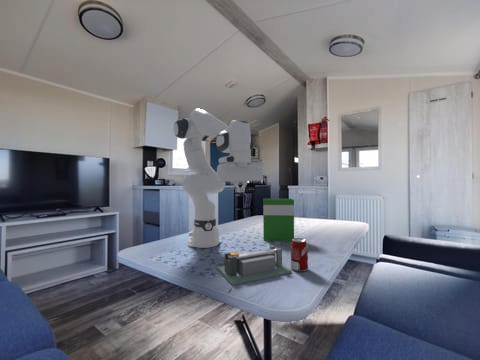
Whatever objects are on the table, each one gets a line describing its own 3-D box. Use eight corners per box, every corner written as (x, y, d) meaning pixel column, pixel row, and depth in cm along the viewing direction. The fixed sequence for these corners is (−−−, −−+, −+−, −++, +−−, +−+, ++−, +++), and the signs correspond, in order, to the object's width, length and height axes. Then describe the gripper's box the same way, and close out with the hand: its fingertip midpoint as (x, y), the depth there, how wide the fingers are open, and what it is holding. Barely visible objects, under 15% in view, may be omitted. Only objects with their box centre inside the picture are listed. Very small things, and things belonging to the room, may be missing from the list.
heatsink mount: (217, 269, 98) (217, 249, 97) (269, 259, 108) (269, 242, 108) (232, 285, 83) (232, 262, 83) (291, 272, 94) (291, 252, 94)
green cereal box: (263, 240, 141) (263, 199, 140) (263, 237, 148) (263, 198, 148) (294, 241, 139) (294, 199, 138) (292, 238, 146) (292, 198, 146)
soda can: (297, 273, 93) (297, 242, 92) (287, 267, 99) (287, 238, 99) (311, 270, 95) (311, 240, 95) (300, 265, 102) (300, 236, 101)
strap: (227, 257, 93) (227, 252, 93) (274, 250, 102) (274, 246, 102) (230, 260, 90) (230, 255, 90) (279, 252, 99) (279, 248, 99)
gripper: (258, 160, 107) (258, 191, 107) (214, 158, 98) (215, 192, 99) (265, 159, 101) (265, 191, 101) (220, 157, 93) (220, 193, 93)
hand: (240, 192), depth 100 cm, fingers closed
